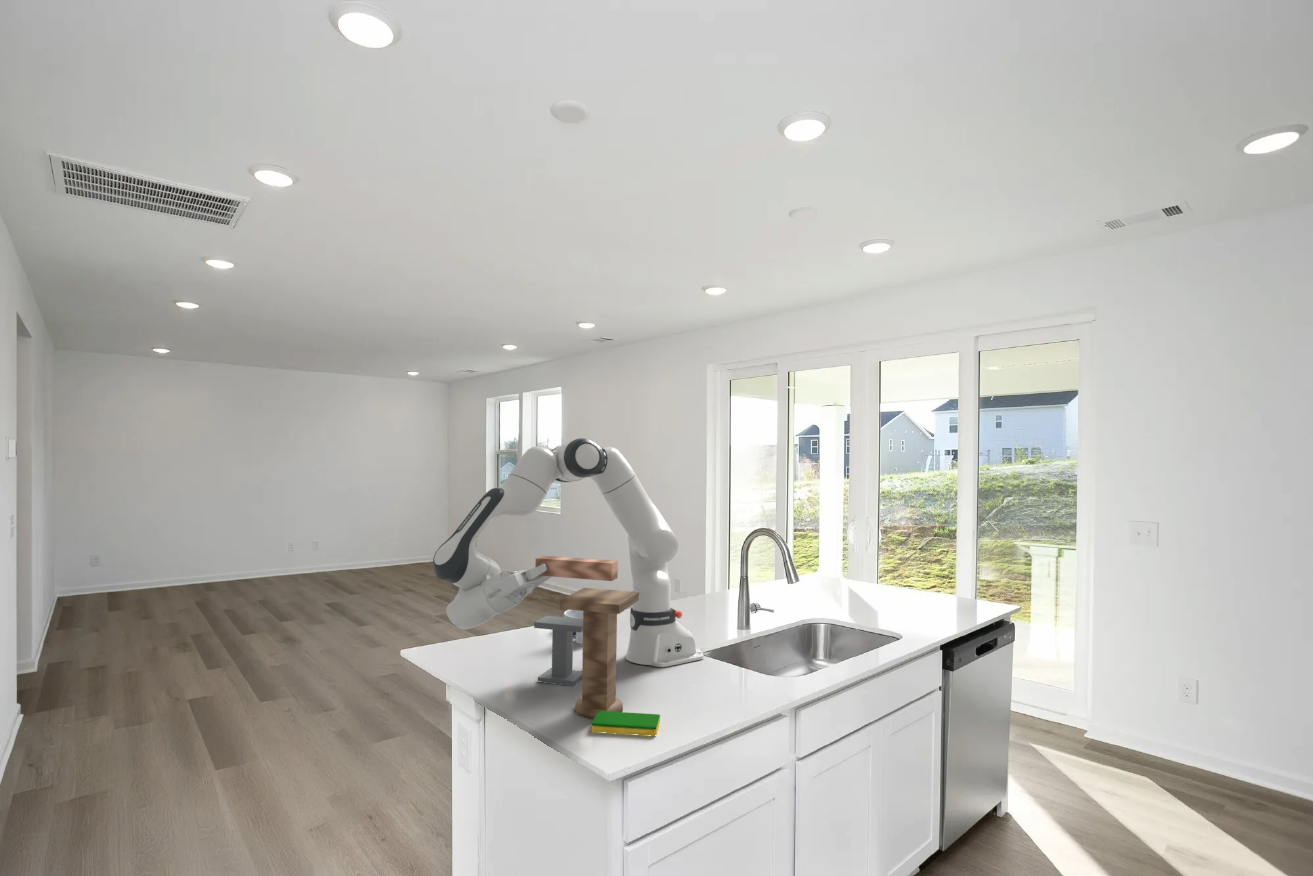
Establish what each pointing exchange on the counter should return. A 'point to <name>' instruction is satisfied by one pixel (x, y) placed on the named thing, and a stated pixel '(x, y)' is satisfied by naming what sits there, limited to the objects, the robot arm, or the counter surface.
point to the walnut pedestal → (599, 646)
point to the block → (579, 568)
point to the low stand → (561, 649)
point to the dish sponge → (626, 723)
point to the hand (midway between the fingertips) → (551, 564)
